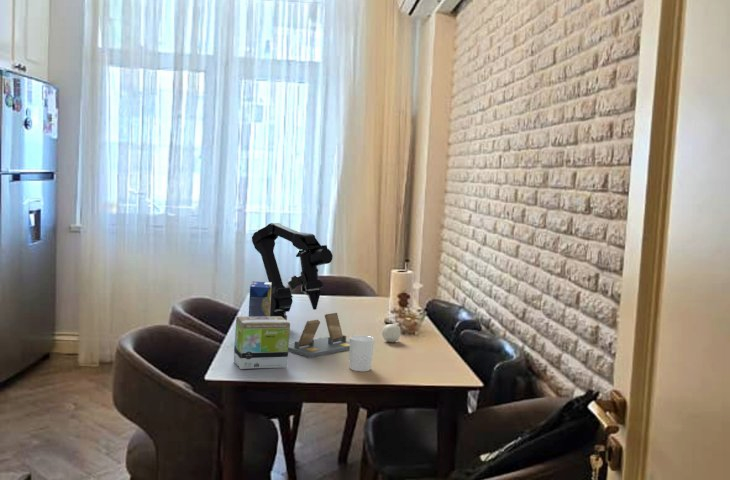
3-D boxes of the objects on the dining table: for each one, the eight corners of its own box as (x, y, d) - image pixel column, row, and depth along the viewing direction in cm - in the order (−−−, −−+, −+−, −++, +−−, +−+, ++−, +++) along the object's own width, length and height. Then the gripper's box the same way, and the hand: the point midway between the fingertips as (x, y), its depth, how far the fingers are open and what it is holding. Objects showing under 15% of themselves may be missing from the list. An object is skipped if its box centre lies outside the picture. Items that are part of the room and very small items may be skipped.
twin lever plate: (281, 348, 244) (281, 338, 243) (331, 339, 261) (331, 330, 261) (308, 357, 234) (309, 347, 234) (358, 347, 252) (359, 338, 251)
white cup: (347, 364, 229) (349, 334, 228) (371, 365, 230) (373, 335, 229) (348, 371, 221) (350, 340, 220) (373, 372, 222) (375, 341, 221)
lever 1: (297, 345, 242) (307, 321, 238) (307, 343, 245) (317, 319, 242) (299, 347, 241) (309, 323, 237) (310, 345, 245) (320, 321, 241)
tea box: (240, 370, 215) (242, 323, 214) (233, 361, 224) (235, 315, 223) (288, 368, 221) (290, 321, 220) (278, 359, 230) (281, 314, 229)
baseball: (378, 342, 261) (379, 324, 261) (385, 338, 268) (386, 321, 267) (395, 345, 259) (397, 327, 258) (402, 341, 266) (403, 323, 265)
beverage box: (268, 344, 249) (271, 282, 247) (267, 352, 238) (270, 287, 236) (248, 343, 248) (252, 281, 246) (246, 351, 237) (250, 286, 235)
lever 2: (331, 343, 250) (324, 315, 252) (341, 341, 254) (334, 313, 256) (333, 342, 250) (327, 314, 252) (343, 340, 253) (336, 312, 255)
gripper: (285, 272, 268) (290, 313, 267) (289, 268, 250) (295, 312, 249) (314, 268, 271) (319, 309, 269) (320, 264, 252) (326, 307, 251)
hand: (314, 309), depth 259 cm, fingers closed
